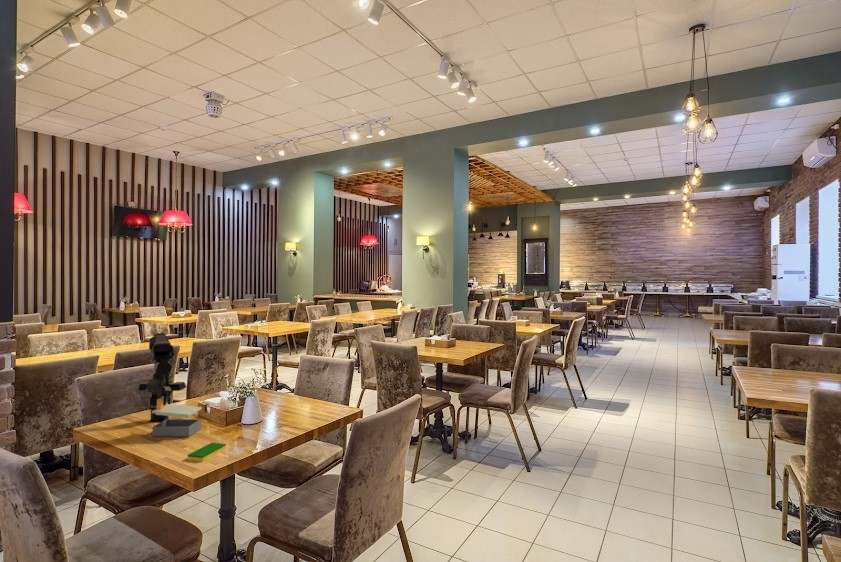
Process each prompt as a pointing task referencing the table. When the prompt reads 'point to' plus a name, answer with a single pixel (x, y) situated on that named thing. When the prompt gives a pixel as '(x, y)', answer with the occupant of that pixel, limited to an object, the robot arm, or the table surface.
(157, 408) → the lid
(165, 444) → the table surface
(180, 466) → the table surface
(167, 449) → the table surface
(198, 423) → the tub
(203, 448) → the dish sponge
